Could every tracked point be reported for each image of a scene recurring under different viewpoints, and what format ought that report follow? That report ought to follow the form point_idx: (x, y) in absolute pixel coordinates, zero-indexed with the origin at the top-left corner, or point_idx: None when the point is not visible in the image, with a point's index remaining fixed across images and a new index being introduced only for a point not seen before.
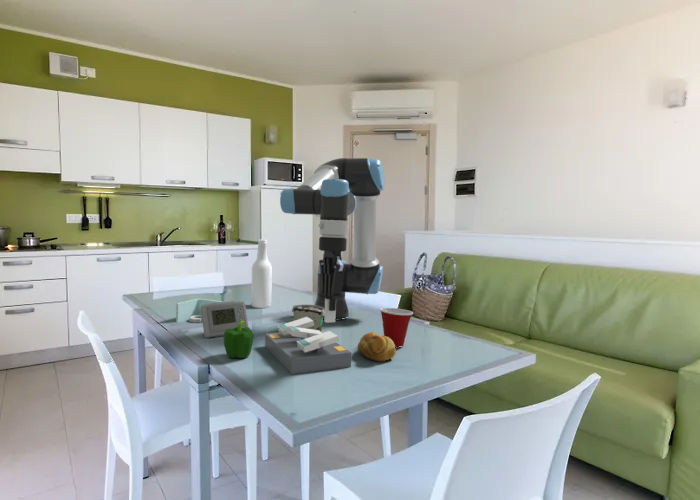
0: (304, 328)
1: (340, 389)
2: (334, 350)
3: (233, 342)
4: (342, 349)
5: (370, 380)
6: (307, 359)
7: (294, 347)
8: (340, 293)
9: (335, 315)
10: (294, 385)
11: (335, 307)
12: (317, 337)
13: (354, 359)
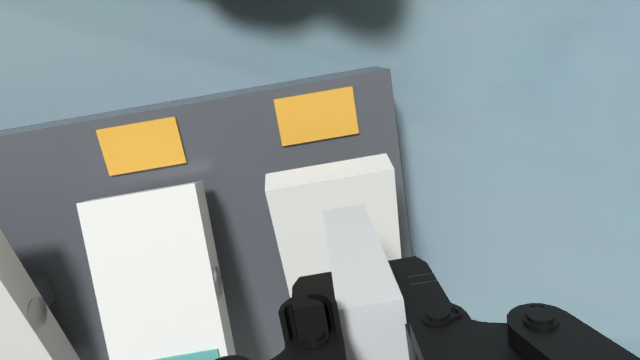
0: (103, 300)
1: (599, 180)
2: (339, 151)
3: None
4: (339, 107)
5: (558, 32)
6: None
7: (256, 327)
8: (600, 340)
9: (370, 222)
10: None
11: (431, 271)
12: (328, 267)
13: (275, 13)
